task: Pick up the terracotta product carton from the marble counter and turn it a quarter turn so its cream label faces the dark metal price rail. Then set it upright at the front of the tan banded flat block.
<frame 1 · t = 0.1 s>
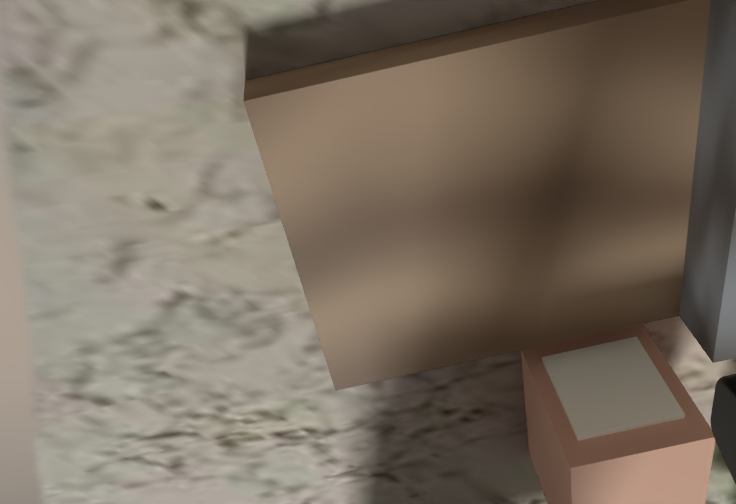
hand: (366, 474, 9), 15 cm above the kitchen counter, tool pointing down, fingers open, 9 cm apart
tan banded flat block: (493, 197, 24), on the kitchen counter
product carton: (580, 391, 31), on the kitchen counter
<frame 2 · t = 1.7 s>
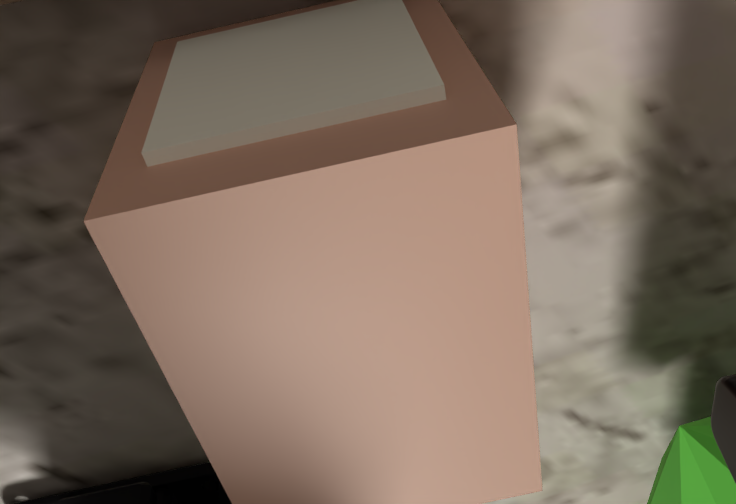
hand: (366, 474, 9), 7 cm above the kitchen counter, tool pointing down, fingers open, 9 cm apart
product carton: (331, 174, 15), on the kitchen counter
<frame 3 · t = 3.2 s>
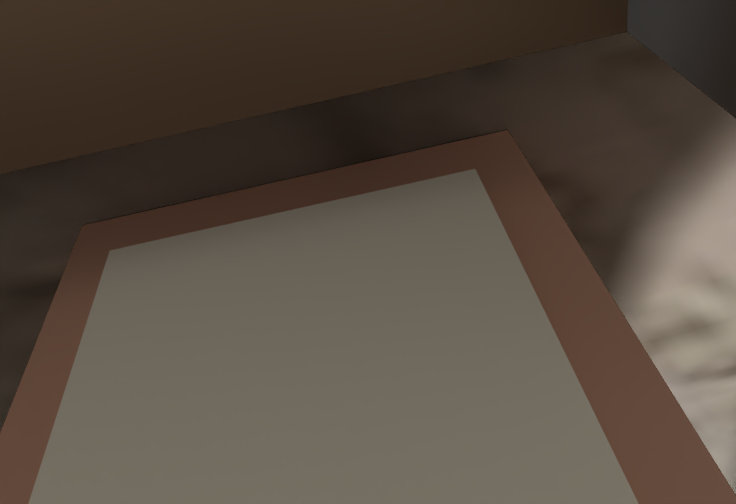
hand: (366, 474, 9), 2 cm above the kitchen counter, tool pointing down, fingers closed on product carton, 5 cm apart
product carton: (354, 384, 10), on the kitchen counter, touching gripper
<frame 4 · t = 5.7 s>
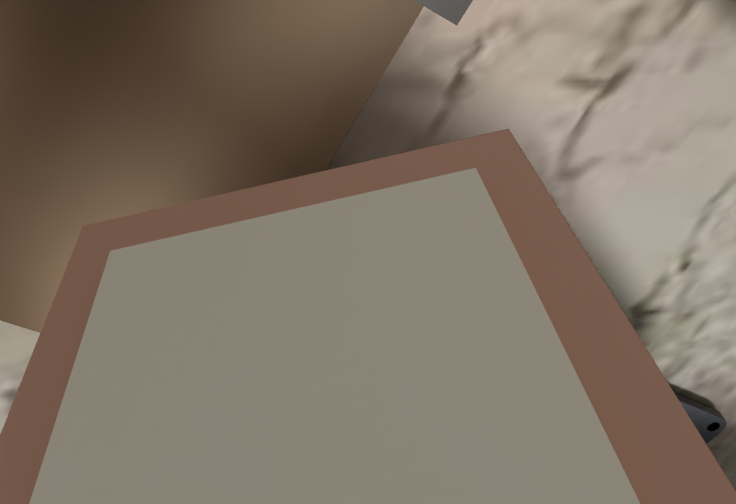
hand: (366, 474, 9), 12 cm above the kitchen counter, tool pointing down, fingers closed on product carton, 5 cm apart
tan banded flat block: (85, 81, 17), on the kitchen counter
product carton: (355, 384, 10), point 10 cm above the kitchen counter, touching gripper
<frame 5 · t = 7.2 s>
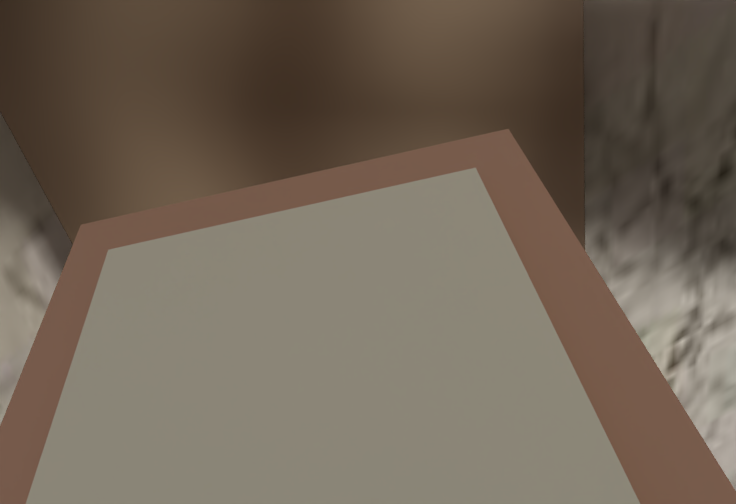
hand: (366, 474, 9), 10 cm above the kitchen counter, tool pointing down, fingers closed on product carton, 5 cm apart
tan banded flat block: (325, 166, 17), on the kitchen counter
product carton: (354, 384, 10), point 8 cm above the kitchen counter, touching gripper
when the fingers open (4 cm above the kitchen counter, at t = 8.5 s): product carton drops 1 cm, resting on tan banded flat block.
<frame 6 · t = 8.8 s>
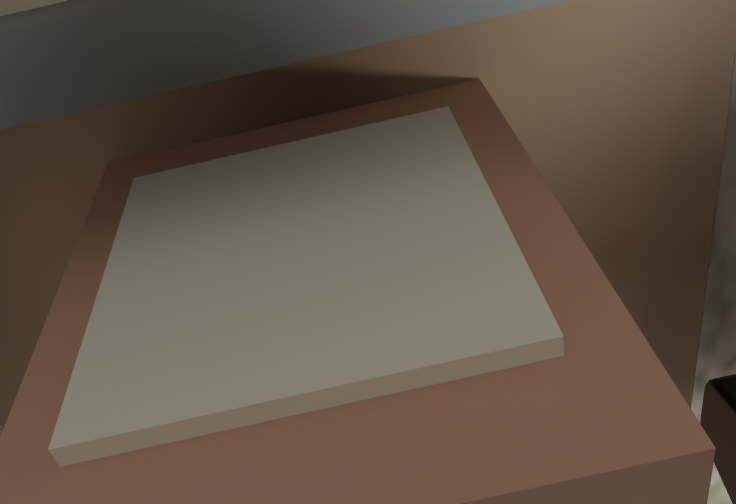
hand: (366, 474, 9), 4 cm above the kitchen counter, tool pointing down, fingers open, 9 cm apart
tan banded flat block: (347, 306, 13), on the kitchen counter
product carton: (347, 317, 11), point 1 cm above the kitchen counter, touching tan banded flat block
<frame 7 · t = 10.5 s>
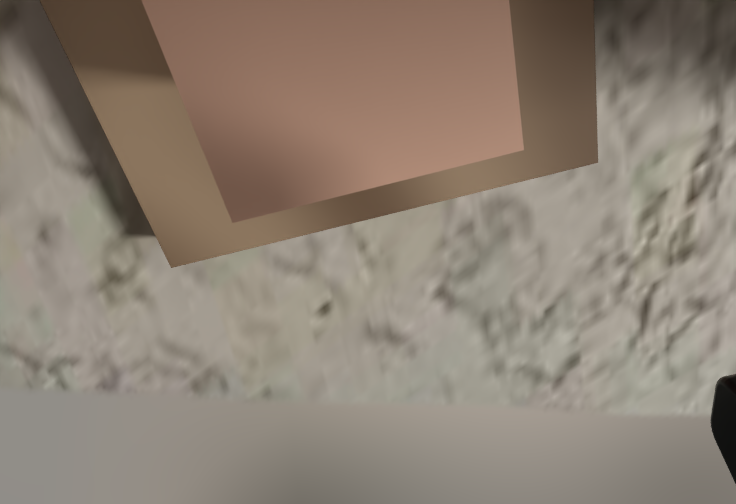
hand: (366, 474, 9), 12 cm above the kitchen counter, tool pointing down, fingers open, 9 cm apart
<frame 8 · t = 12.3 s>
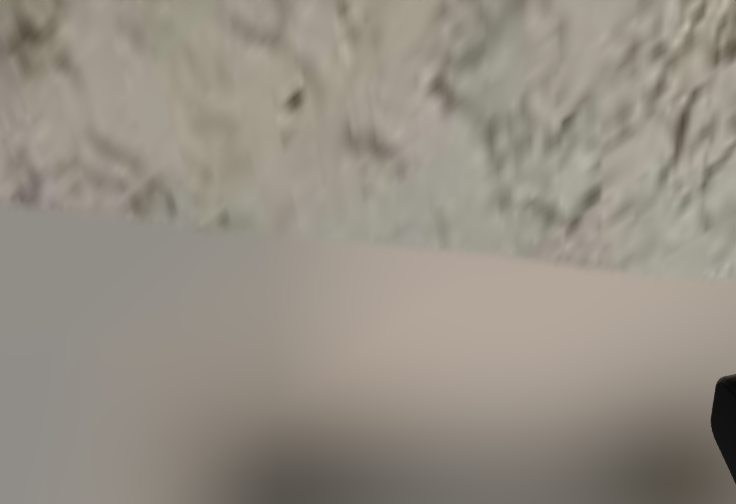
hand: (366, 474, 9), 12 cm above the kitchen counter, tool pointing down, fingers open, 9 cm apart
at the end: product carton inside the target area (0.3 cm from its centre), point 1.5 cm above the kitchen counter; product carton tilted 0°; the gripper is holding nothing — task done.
